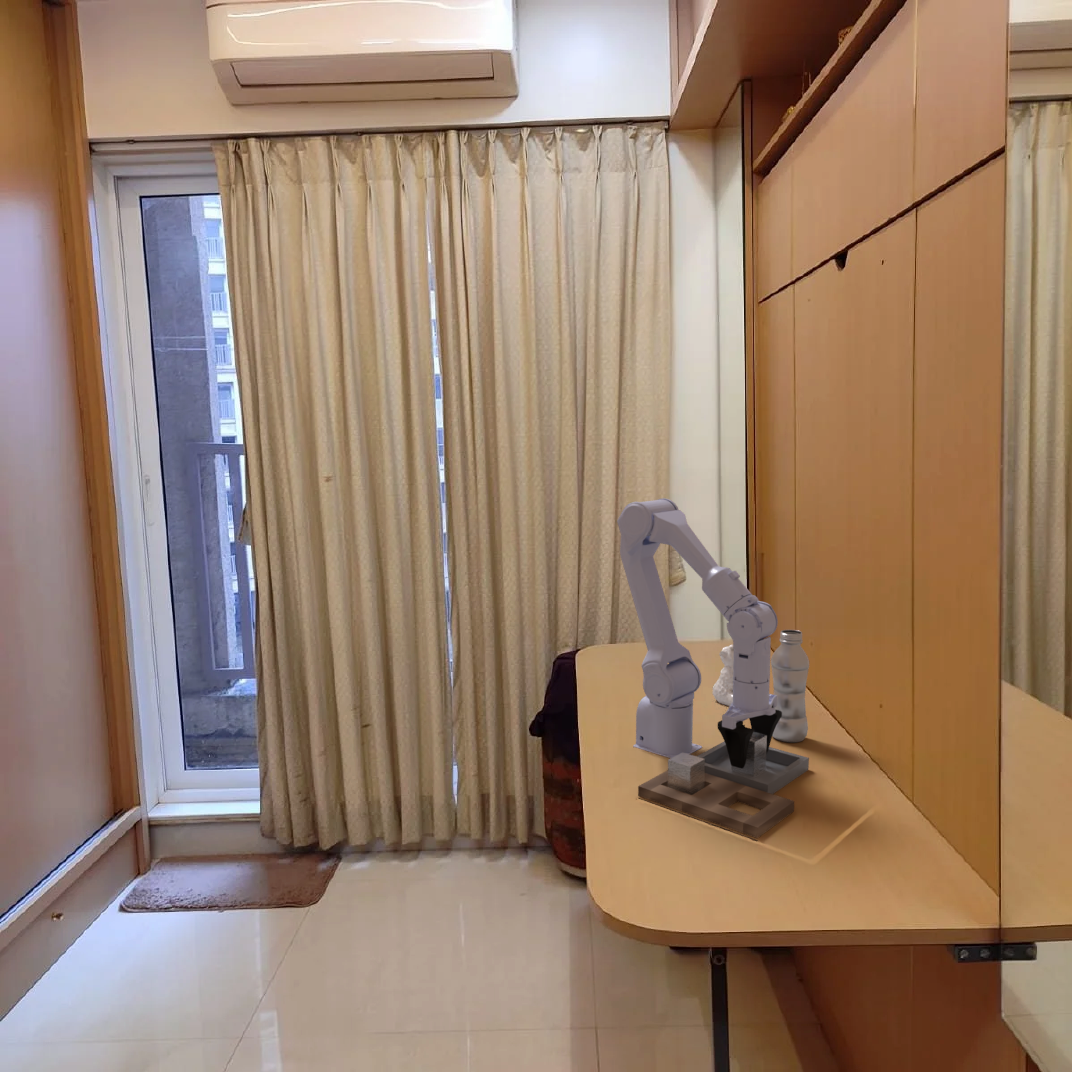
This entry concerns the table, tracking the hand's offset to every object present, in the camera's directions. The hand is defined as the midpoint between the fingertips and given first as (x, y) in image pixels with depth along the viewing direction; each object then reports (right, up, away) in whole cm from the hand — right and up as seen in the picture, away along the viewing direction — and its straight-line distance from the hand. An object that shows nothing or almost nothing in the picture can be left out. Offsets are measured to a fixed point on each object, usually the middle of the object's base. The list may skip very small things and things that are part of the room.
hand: (749, 759), depth 138 cm
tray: (0, -2, 0) cm, 3 cm away
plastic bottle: (+11, -1, +15) cm, 18 cm away
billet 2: (0, -2, 0) cm, 2 cm away
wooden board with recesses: (-8, -4, -11) cm, 14 cm away
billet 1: (-12, -4, -8) cm, 15 cm away
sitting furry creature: (+6, +2, +36) cm, 36 cm away
